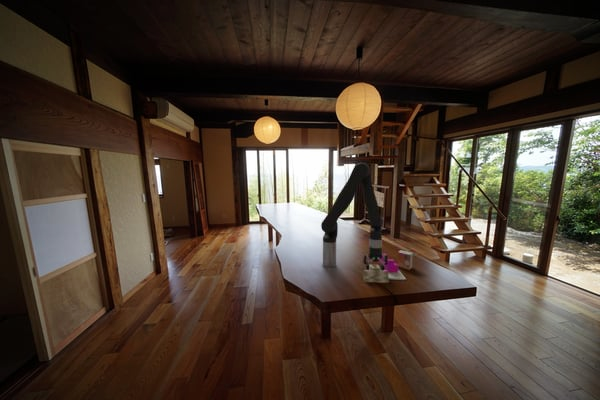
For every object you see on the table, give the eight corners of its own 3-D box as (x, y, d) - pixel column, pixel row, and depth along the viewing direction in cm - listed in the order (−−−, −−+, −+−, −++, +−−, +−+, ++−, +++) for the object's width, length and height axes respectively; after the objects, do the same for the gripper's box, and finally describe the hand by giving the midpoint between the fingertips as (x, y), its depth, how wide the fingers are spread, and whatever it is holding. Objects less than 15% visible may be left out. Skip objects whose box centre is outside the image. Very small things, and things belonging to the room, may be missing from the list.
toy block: (398, 272, 132) (398, 260, 131) (388, 272, 132) (388, 260, 132) (389, 263, 147) (389, 253, 146) (380, 263, 147) (380, 253, 147)
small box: (397, 266, 142) (397, 252, 141) (399, 264, 146) (400, 249, 145) (409, 270, 137) (410, 254, 136) (412, 267, 141) (413, 252, 140)
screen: (364, 281, 123) (364, 272, 122) (363, 279, 125) (363, 269, 125) (389, 282, 121) (389, 273, 120) (387, 280, 124) (387, 270, 123)
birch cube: (370, 276, 129) (371, 267, 128) (369, 272, 134) (369, 264, 134) (380, 277, 128) (380, 268, 128) (377, 272, 134) (378, 264, 133)
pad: (385, 279, 125) (385, 277, 125) (380, 270, 136) (380, 269, 136) (405, 280, 124) (406, 278, 124) (399, 271, 135) (399, 270, 135)
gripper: (364, 247, 126) (364, 272, 128) (389, 247, 124) (388, 273, 126) (362, 243, 134) (362, 267, 135) (385, 243, 132) (385, 268, 134)
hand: (375, 270), depth 131 cm, fingers open, 8 cm apart
